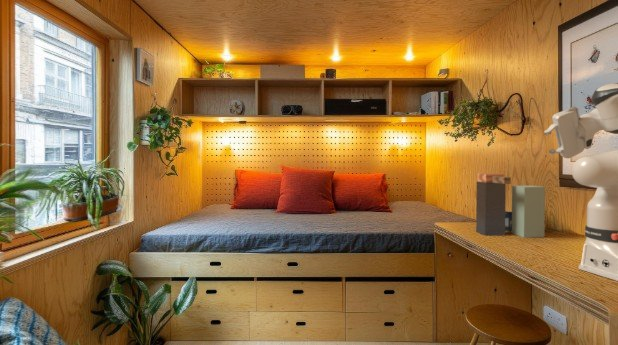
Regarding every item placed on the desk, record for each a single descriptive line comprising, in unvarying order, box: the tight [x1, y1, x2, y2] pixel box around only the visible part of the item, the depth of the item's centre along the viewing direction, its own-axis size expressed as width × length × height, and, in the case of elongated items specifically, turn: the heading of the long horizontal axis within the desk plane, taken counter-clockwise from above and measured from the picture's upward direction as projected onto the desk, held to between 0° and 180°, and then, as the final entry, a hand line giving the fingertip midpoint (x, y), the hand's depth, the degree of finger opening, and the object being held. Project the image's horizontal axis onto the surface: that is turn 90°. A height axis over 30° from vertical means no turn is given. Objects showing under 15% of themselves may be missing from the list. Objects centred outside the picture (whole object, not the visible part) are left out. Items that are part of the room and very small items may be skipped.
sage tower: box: [511, 184, 546, 239], centre depth 172 cm, size 10×10×24 cm
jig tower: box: [475, 181, 507, 237], centre depth 177 cm, size 8×10×26 cm
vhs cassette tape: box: [505, 210, 512, 233], centre depth 186 cm, size 18×3×10 cm, turn 45°
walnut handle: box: [477, 172, 512, 185], centre depth 171 cm, size 18×9×4 cm, turn 3°
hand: (547, 143), depth 142 cm, fingers open, 8 cm apart
